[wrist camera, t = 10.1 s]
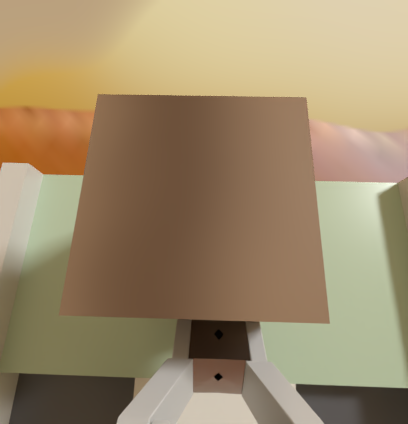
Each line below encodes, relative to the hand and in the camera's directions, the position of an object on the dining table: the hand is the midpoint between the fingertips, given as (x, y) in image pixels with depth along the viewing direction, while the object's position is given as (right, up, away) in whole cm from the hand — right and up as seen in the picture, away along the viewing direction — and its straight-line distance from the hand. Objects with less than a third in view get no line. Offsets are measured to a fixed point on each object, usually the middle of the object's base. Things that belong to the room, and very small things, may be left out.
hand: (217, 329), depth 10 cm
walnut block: (-1, +2, +5) cm, 6 cm away
